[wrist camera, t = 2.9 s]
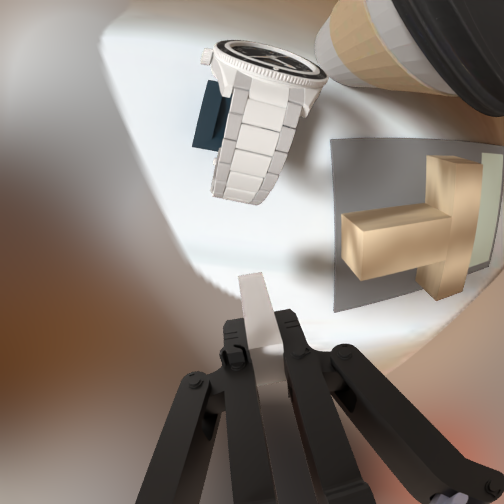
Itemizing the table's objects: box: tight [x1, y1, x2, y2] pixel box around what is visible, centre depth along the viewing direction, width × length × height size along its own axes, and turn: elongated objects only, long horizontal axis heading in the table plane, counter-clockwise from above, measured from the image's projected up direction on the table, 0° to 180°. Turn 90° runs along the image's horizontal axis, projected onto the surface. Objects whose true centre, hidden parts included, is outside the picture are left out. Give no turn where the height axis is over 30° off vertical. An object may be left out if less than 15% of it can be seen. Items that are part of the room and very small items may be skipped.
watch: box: [192, 40, 329, 205], centre depth 13 cm, size 6×8×11 cm
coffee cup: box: [315, 0, 504, 117], centre depth 10 cm, size 9×9×15 cm
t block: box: [341, 155, 483, 301], centre depth 21 cm, size 13×13×4 cm
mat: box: [330, 138, 504, 313], centre depth 23 cm, size 16×24×1 cm, turn 98°
